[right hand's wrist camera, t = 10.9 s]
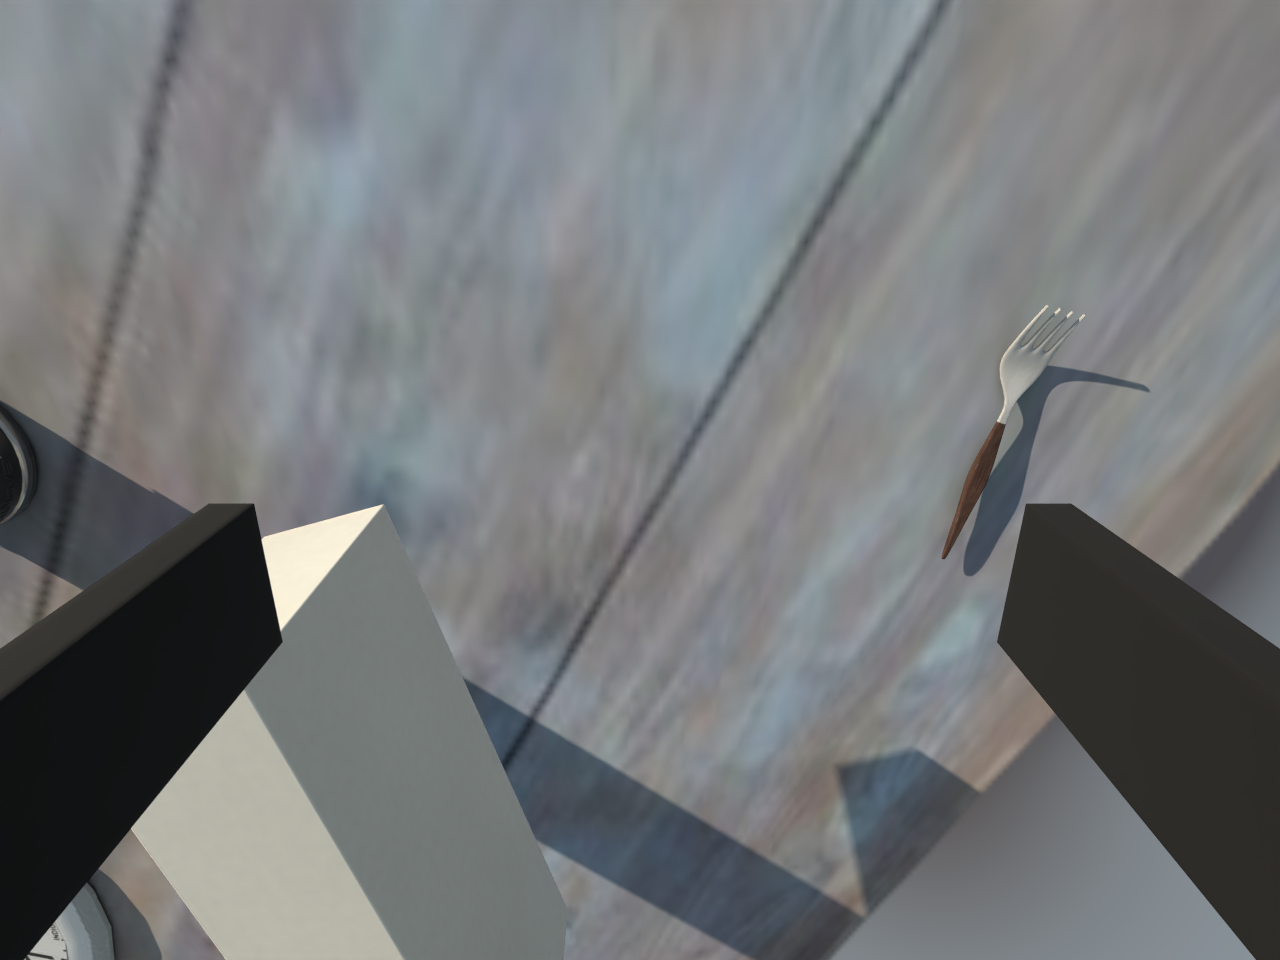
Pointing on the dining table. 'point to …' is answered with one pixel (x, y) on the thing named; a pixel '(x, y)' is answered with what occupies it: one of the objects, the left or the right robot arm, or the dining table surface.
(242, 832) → the box
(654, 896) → the dining table surface
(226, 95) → the dining table surface
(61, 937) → the wall clock
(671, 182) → the dining table surface
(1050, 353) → the fork
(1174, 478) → the dining table surface
